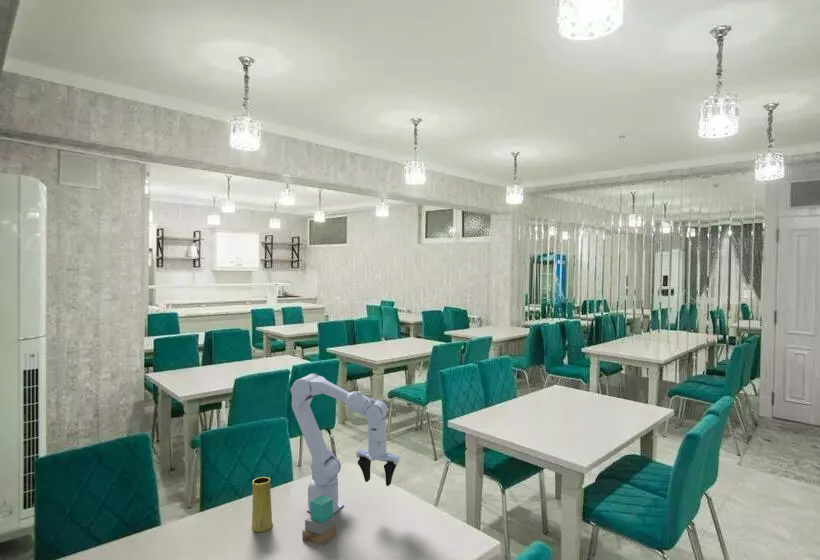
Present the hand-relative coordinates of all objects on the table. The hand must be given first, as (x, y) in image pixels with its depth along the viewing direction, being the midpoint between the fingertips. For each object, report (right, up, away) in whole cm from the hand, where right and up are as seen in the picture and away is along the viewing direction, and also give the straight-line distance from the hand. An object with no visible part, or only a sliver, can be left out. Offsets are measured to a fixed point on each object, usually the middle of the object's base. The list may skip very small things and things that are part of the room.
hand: (377, 482), depth 148 cm
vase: (-35, -11, -6) cm, 37 cm away
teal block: (-16, -5, -11) cm, 20 cm away
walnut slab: (-16, -11, -11) cm, 23 cm away
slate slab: (-16, -8, -11) cm, 22 cm away
